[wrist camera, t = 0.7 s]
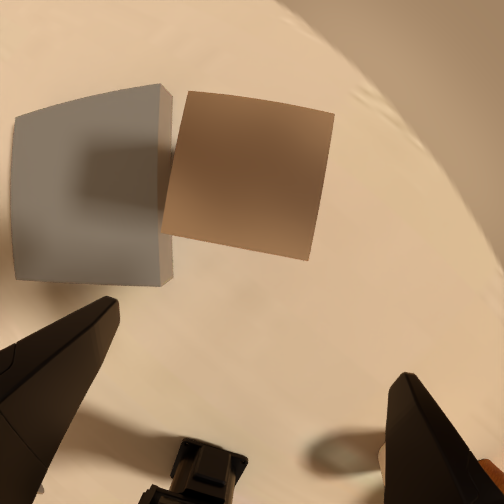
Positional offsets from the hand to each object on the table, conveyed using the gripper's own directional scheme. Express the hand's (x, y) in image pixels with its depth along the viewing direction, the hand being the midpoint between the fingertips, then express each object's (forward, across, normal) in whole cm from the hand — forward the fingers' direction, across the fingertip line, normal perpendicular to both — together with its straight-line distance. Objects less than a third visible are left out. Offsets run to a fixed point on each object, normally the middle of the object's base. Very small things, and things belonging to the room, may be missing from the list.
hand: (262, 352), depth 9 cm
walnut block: (+16, +2, +1) cm, 16 cm away
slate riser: (+15, +15, +4) cm, 21 cm away
